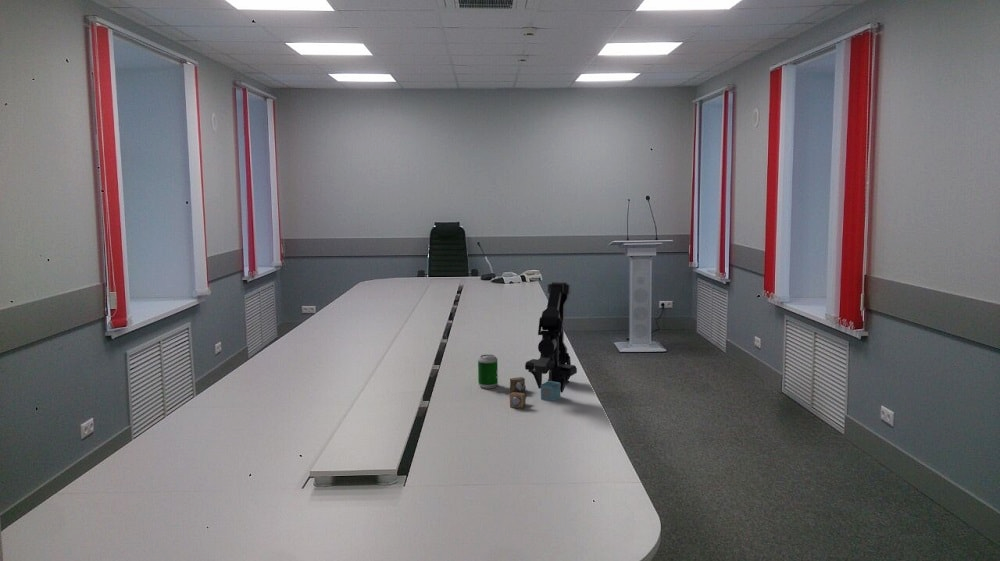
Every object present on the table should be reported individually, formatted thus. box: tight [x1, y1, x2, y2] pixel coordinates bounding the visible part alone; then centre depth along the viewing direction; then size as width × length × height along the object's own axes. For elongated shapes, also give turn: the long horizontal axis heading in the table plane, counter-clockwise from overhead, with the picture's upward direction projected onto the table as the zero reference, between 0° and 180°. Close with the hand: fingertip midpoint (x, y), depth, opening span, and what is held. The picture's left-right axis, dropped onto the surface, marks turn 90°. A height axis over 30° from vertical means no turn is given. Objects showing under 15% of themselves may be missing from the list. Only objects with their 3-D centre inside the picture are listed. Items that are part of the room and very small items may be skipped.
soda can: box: [477, 354, 499, 389], centre depth 252 cm, size 8×8×12 cm
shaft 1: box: [509, 376, 527, 393], centre depth 245 cm, size 7×5×5 cm
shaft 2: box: [509, 392, 527, 410], centre depth 229 cm, size 7×5×5 cm
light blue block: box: [540, 380, 561, 402], centre depth 237 cm, size 6×5×6 cm
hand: (550, 390), depth 237 cm, fingers open, 9 cm apart
